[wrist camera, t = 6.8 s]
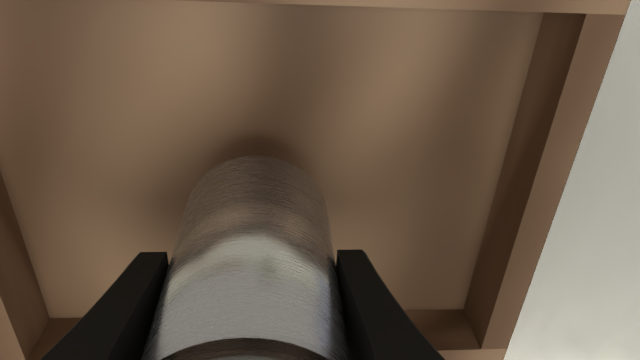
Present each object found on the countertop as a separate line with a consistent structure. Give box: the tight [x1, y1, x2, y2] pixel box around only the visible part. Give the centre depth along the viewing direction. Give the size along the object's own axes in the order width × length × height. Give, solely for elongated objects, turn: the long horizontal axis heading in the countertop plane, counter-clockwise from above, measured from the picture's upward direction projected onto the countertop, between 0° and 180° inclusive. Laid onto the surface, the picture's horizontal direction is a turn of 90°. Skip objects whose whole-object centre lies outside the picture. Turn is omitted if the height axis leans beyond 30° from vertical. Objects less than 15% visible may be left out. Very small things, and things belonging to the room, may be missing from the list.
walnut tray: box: [0, 0, 631, 360], centre depth 15 cm, size 18×14×2 cm
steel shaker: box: [141, 156, 350, 360], centre depth 11 cm, size 4×4×7 cm
